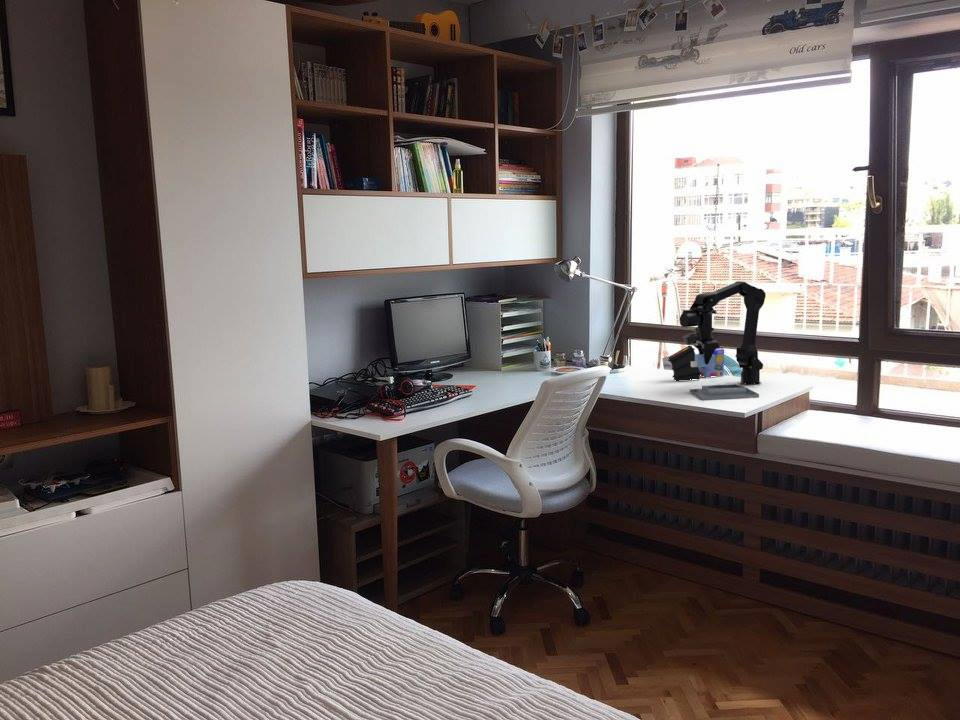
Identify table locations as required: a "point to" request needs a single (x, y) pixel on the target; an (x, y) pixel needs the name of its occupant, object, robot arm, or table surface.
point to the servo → (702, 361)
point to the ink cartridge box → (719, 365)
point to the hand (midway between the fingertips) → (704, 363)
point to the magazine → (684, 364)
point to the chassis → (723, 392)
